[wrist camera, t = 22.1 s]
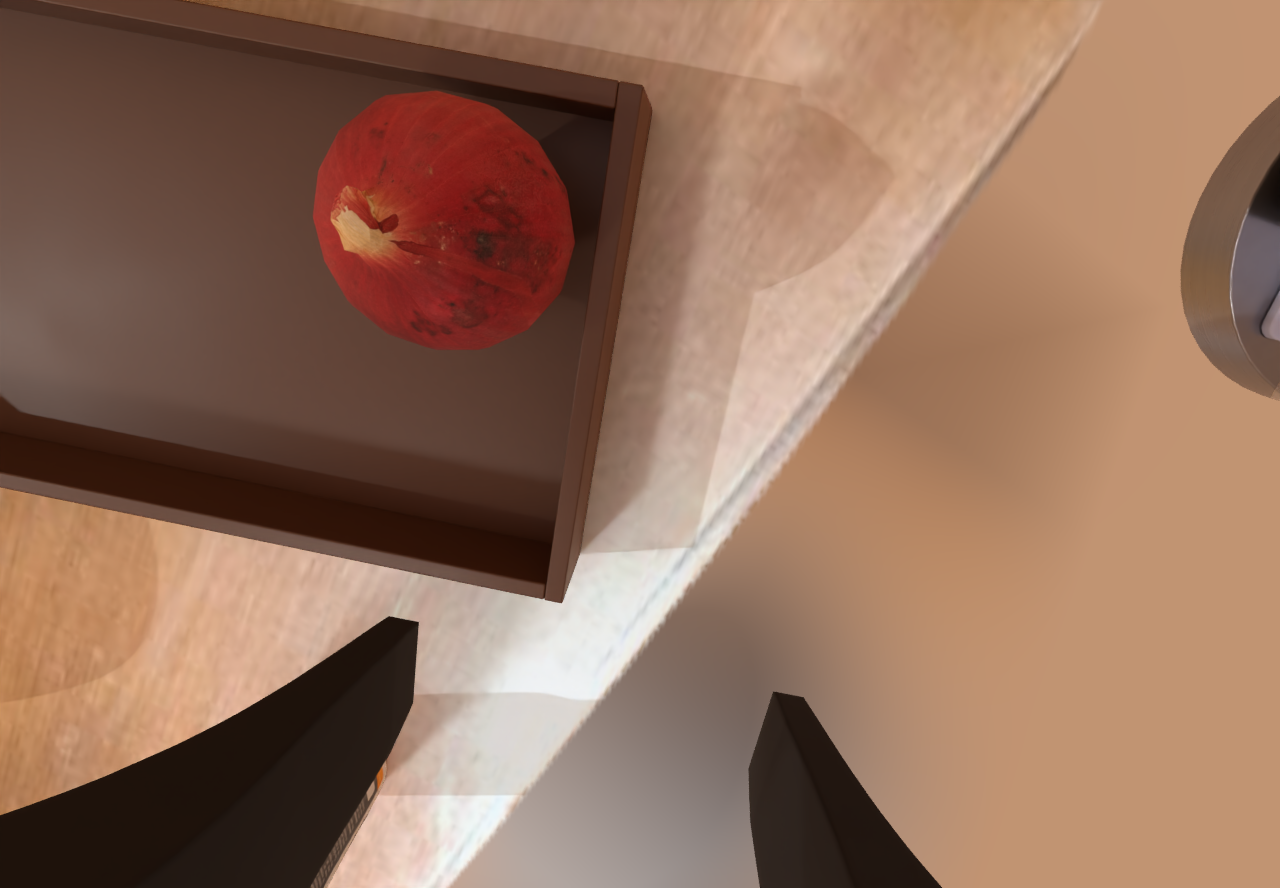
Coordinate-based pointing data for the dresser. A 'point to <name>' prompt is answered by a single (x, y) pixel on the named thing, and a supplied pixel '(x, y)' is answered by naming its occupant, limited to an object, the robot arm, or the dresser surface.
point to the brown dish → (284, 295)
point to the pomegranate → (443, 221)
